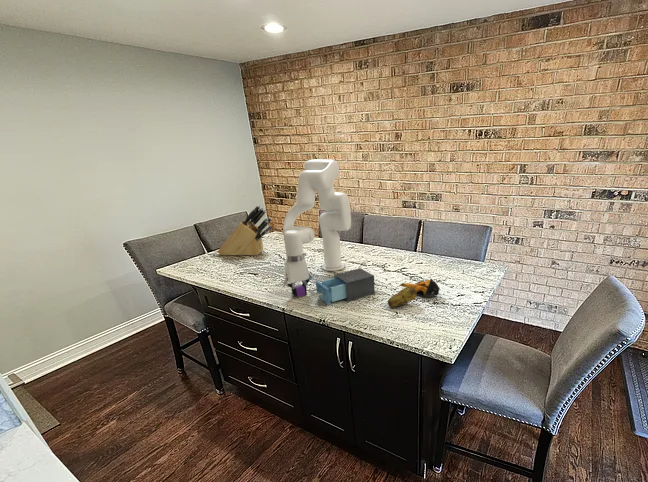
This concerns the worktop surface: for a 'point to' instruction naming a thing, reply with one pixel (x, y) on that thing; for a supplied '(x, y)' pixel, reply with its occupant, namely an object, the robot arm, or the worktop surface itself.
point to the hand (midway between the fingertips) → (299, 293)
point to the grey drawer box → (357, 283)
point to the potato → (402, 297)
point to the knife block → (247, 236)
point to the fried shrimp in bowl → (424, 288)
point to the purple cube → (300, 290)
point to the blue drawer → (330, 290)
